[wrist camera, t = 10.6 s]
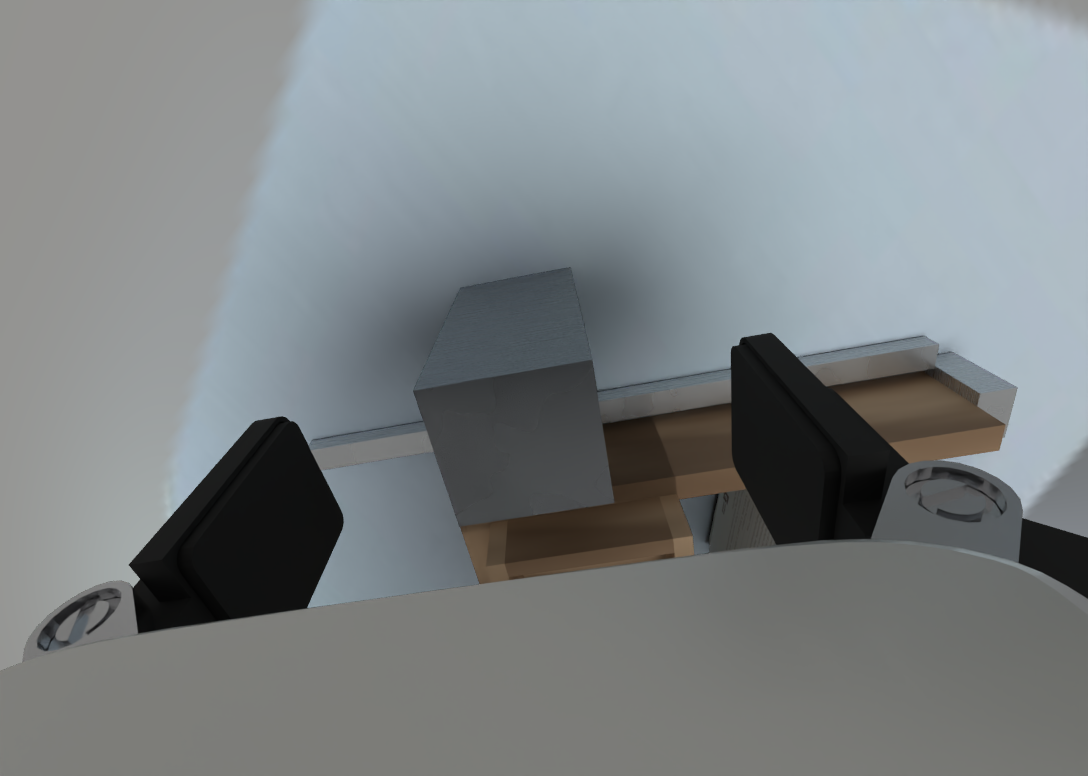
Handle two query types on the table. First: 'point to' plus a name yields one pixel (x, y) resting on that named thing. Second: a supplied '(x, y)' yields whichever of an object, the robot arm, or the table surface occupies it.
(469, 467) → the gray rectangular block
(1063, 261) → the table surface
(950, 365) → the rail
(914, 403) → the cradle
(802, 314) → the table surface
